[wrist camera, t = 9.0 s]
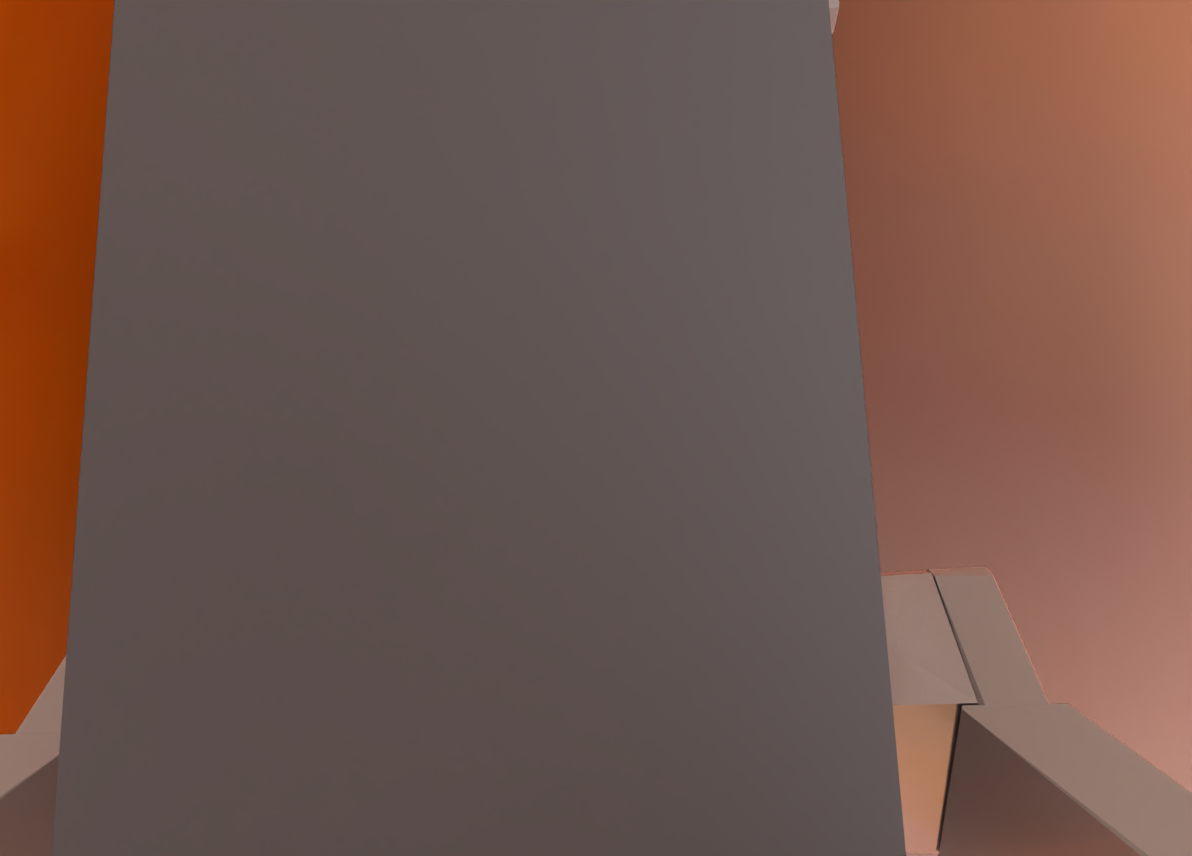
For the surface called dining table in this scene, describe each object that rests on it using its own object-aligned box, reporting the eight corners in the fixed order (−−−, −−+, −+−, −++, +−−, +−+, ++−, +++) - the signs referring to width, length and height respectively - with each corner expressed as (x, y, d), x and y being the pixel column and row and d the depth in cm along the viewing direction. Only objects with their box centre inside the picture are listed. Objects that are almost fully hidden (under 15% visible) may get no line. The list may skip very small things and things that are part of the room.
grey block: (788, 841, 13) (929, 1116, 5) (407, 849, 14) (32, 1116, 6) (727, -48, 16) (765, -708, 8) (411, -21, 16) (160, -625, 9)
